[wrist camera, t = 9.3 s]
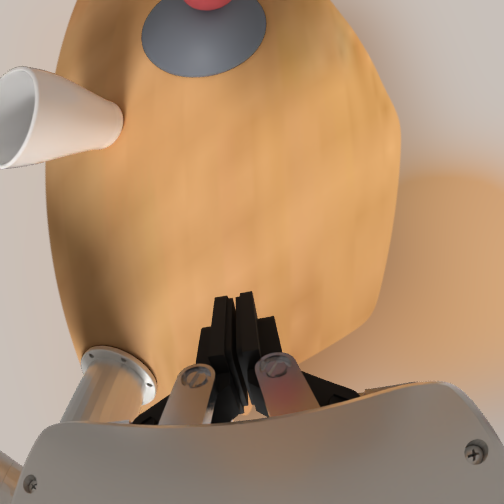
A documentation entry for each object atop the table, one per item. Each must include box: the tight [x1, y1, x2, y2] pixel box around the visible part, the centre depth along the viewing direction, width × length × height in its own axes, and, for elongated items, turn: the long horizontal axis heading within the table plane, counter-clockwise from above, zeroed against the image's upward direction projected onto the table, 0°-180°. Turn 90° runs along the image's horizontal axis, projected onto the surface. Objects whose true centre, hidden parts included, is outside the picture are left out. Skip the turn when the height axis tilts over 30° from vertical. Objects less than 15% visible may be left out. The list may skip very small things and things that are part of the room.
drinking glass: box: [0, 66, 123, 169], centre depth 16 cm, size 7×7×15 cm
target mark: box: [142, 0, 266, 77], centre depth 20 cm, size 13×13×1 cm
